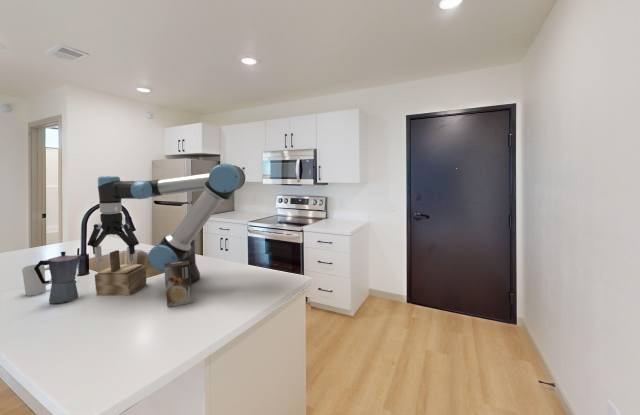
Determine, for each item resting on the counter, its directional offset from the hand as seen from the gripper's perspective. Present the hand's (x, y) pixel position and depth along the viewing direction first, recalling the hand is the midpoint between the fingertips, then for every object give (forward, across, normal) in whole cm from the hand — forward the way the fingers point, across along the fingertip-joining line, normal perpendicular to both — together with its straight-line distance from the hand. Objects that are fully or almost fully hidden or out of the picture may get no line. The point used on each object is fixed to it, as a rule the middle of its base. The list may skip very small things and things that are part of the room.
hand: (114, 261), depth 122 cm
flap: (+5, 0, -3) cm, 6 cm away
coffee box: (+14, -32, +10) cm, 36 cm away
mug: (+14, +34, -1) cm, 37 cm away
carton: (+14, 0, -3) cm, 14 cm away
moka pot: (+14, +17, +7) cm, 23 cm away
